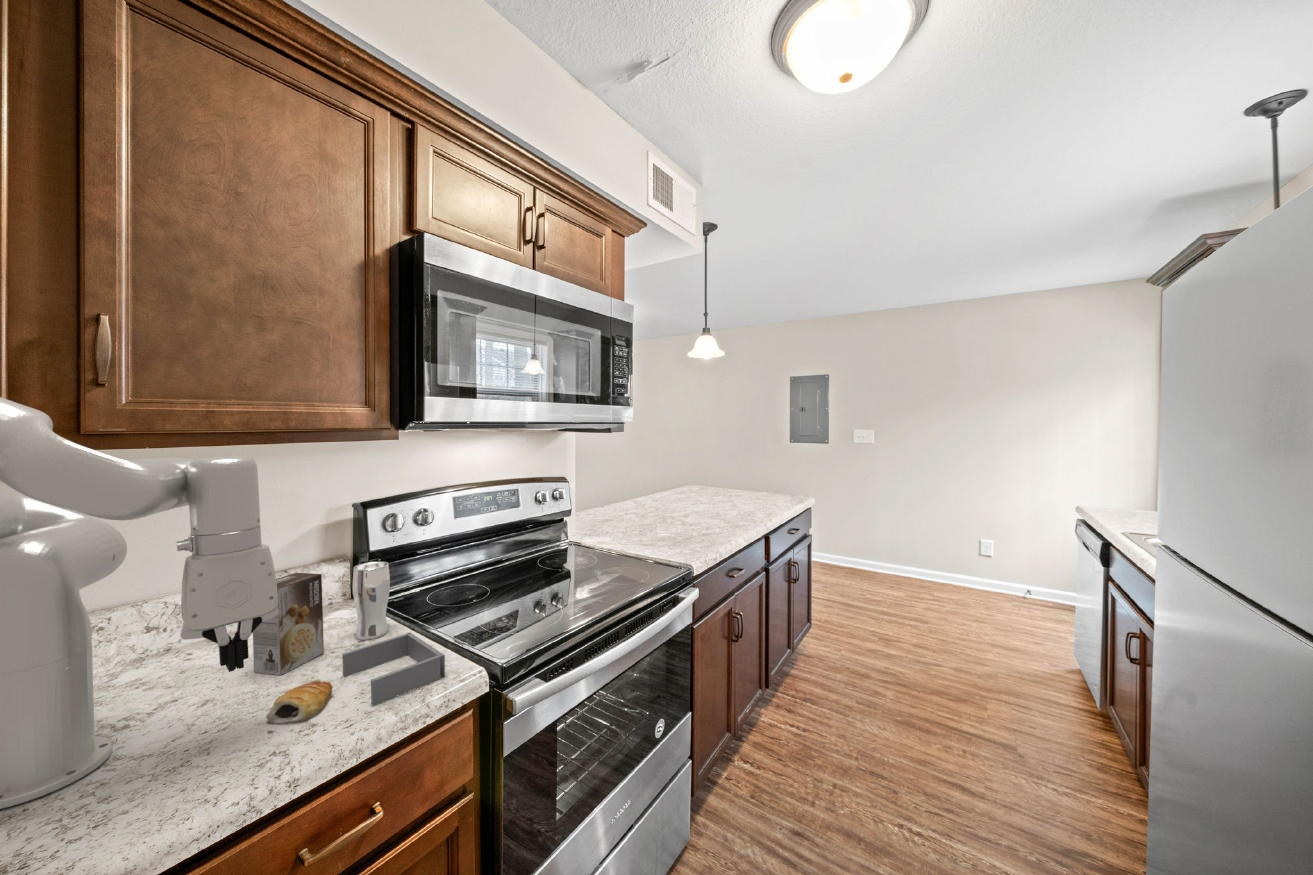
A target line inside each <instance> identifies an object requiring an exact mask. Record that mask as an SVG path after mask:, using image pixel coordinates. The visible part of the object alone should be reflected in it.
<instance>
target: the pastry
mask: <svg viewBox="0 0 1313 875" xmlns="http://www.w3.org/2000/svg"><path fill="white" fill-rule="evenodd" d="M332 691H333V685H332V683H331V682H329V681H322V680H314V681H311V682H306V683H305V684H304V683H303V684H302V685H299V686H296V687H294V688H291V689H287V690H286V691H285V692H284V694H282V695H280V696H278V697H277V698H276V699H275V701H274V703H273V704H272V706H271V708H270V709H269V711H268V713H267V714H266V720H267V721H269V722H270V723H271V724H274V725H280V724H287V723H288V724H289V723H297V722H303V721H305V720H308V719H311V718H312V717H313V716H316V715H317V714H318V712H320V711H321V710H323V709H324V708H325V705H327V704H328V702H329V700H330V697H331V696H332V694H333V692H332Z"/></svg>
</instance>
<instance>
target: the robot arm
mask: <svg viewBox="0 0 1313 875" xmlns="http://www.w3.org/2000/svg"><path fill="white" fill-rule="evenodd" d="M53 428H54V423H53V420H52V419H51V417H50V415H48V414H47V413H45V412H43V411H42V410H39V409H36V408H34V407H33V408H32V407H30V406H27V405H24V404H21V403H18V402H15V401H14V400H10V399H6V398H4V397H2V396H0V482H1V483H2V484H5V485H6V486H8V487H9V488H11V489H13V490H14V491H11V490H6V489H0V810H2V809H6V808H10V807H13V806H16V805H17V806H18V805H20V804H23V803H28V802H29V801H32V800H35V799H38V798H40V797H43V796H45V795H49V794H50V793H53V792H56V791H57V790H60V789H62V788H65V787H66V786H68V785H70V784H72V783H75V782H77V781H78V780H80V779H82V778H84V777H85V776H87V775H88V774H90V773H91V772H93V771H94V770H96V769H97V768H98V767H99V766H101V765H102V764H104V762H105V761H106V760H107V759H108V758H109V757H110V755H111V754H112V752H113V742H112V740H111V739H110V738H108V737H104V736H100V735H99V736H97V735H95V732H96V731H95V708H94V707H95V703H94V702H95V701H94V699H95V697H94V672H93V671H94V669H93V668H94V665H93V662H94V661H93V660H94V659H93V643H92V627H91V626H92V625H91V621H90V616H89V613H88V610H87V609H86V606H85V605H84V603H83V600H82V598H81V594H80V590H82V589H84V588H86V587H89V586H90V585H93V584H96V583H97V582H100V581H101V580H103V579H105V578H106V577H108V576H110V575H112V574H113V573H114V572H115V571H117V569H119V567H120V566H121V565H122V564H123V563H124V560H126V557H127V553H128V552H127V551H128V545H127V541H126V539H125V537H124V536H123V534H122V533H121V532H120V531H119V530H118V529H117V528H115V527H114V526H113V525H110V524H109V523H107V522H105V521H102V520H99V519H104V520H111V521H112V520H113V521H133V520H138V519H142V518H146V517H148V516H152V515H155V514H158V513H162V512H166V511H170V510H172V509H177V508H181V507H182V508H183V507H187V506H188V509H189V510H188V511H189V525H190V528H189V529H190V533H189V537H187V538H186V539H183V540H177V541H176V551H177V552H181V551H185V552H187V551H188V552H189V553H191V555H188V556H187V557H186V558H185V562H184V567H183V571H182V581H181V596H180V597H181V600H180V601H181V605H180V606H181V610H180V611H181V617H182V621H183V623H182V626H181V630H180V633H179V635H180V638H181V639H182V640H196V639H206V640H208V641H211V642H213V643H215V644H218V652H219V654H218V655H219V664H220V667H224V666H225V667H226V669H227V670H228V673H230V672H233V671H235V670H236V669H237V670H238V669H239V670H241V669H243V668H245V662H244V661H245V660H247V659H249V658H250V657H249V654H250V653H249V639H250V637H251V635H252V634H253V631H254V630H255V629H256V628H257V627H258V626H259V625H260V624H261V622H264V621H266V620H269V619H271V618H273V617H275V616H277V615H278V614H279V610H278V608H277V606H278V592H277V584H276V579H277V577H276V570H275V565H274V560H273V556H272V555H273V554H272V552H271V549H270V546H269V545H266V544H263V543H262V530H261V509H260V508H261V507H260V493H259V492H260V491H259V490H260V489H259V473H258V472H259V471H258V464H257V462H256V461H255V459H254V458H252V457H250V456H244V455H243V456H242V455H233V456H232V455H231V456H230V455H229V456H212V457H210V456H209V457H202V458H185V457H168V456H167V457H164V456H163V457H162V456H161V457H151V458H150V457H147V458H146V457H145V458H139V459H131V460H130V459H129V460H128V459H123V458H121V457H117V456H114V455H111V454H107V453H104V452H101V451H98V450H96V449H93V448H89V447H87V446H84V445H81V444H79V443H76V442H73V441H72V440H69V439H67V438H66V437H65V438H64V437H63V436H61V435H59V434H57V433H55V432H54V430H53ZM97 518H99V519H97ZM233 624H237V626H236V632H235V633H234V636H233V638H232V637H231V635H229V633H228V630H227V626H228V625H233Z"/></svg>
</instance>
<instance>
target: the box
mask: <svg viewBox="0 0 1313 875" xmlns="http://www.w3.org/2000/svg"><path fill="white" fill-rule="evenodd" d="M341 654H342V658H341V659H342V677H344V678H345V677H348V676H350V675H354V674H356V673H359V672H362V671H366V670H368V669H371V668H373V667H377V666H379V665H382V664H385V663H389V662H391V661H394V660H397V659H400V658H403V657H406V656H409V657H410V658H411V659H413V660H414V661H415V663H414V664H410V665H408V666H404V667H402V668H399V669H396V670H394V671H391V672H388V673H386V674H383V675H379V676H377V677H375V678H371V679H370V704H371V705H372V706H373V705H374V706H376V705H379V704H381V703H383V702H382V701H384V702H386V701H388V699H389V700H391V699H394V698H396V697H398V696H397V695H399V696H401V695H403V693H404V694H406V693H408V691H409V692H410V690H411V691H413V689H414V690H416V689H418V688H421V687H423V686H426V685H428V684H431V683H433V682H436V681H439V680H441V679H443V678H445V677H446V674H445V673H446V672H445V670H446V668H445V667H446V664H445V662H446V659H445V658H446V655H445V654H444V653H442V652H441V651H439V650H438V649H436V648H435V647H433V645H430V644H428V643H427V642H426V641H424V640H423V639H421V638H419V637H418V636H416V635H415V634H413V633H412V632H407V633H403V634H400V635H398V636H394V637H391V638H387V639H385V640H381V641H378V642H375V643H372V644H369V645H365V646H362V647H360V648H356V649H353V650H349V651H346V652H343V653H341ZM415 688H416V689H415ZM405 692H406V693H405ZM395 696H396V697H395ZM393 697H394V698H393ZM390 698H391V699H390ZM378 703H379V704H378ZM375 704H376V705H375Z"/></svg>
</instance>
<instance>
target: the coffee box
mask: <svg viewBox="0 0 1313 875" xmlns="http://www.w3.org/2000/svg"><path fill="white" fill-rule="evenodd" d="M276 584H277V592H278V606H277V608H278V610H279V614H278V615H277V616H275V617H273V618H271V619H269V620H266V621H264V622H261V624H260V625H259V626H258V627H257V628H256V629H255V630H254V631H253V632H252V650H253V651H252V654H253V657H252V658H253V672H254V673H255V672H259V673H258V674H263V673H265V674H264V675H272V674H275V675H274V676H280V675H281V676H282V674H283V675H285V674H286V672H287V673H288V671H289V672H291V671H292V670H294V669H296V668H298V667H300V666H302V665H304V664H305V662H306V663H307V662H309V661H311V660H314V659H315V658H316V657H319V656H321V655H322V653H323V654H324V653H325V643H324V615H323V614H324V610H323V578H322V573H313V572H312V573H309V572H294V573H290V574H287V575H285V576H281V577H277V578H276ZM320 654H321V655H320ZM303 663H304V664H303ZM301 664H302V665H301ZM299 665H300V666H299ZM290 670H291V671H290Z"/></svg>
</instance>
